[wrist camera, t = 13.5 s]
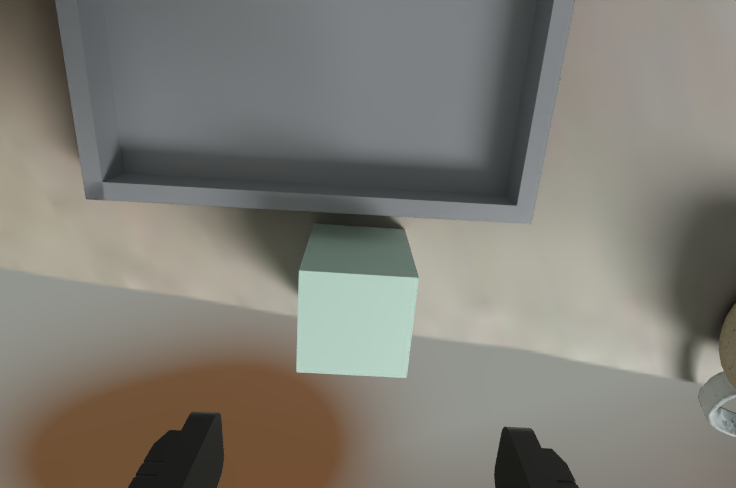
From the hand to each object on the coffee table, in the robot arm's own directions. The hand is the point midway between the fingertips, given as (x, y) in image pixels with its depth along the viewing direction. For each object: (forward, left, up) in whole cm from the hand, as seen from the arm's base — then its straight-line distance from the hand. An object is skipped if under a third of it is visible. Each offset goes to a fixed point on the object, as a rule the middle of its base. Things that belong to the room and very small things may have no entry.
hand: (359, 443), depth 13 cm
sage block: (0, 0, -12) cm, 12 cm away
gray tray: (+2, -10, -12) cm, 16 cm away
